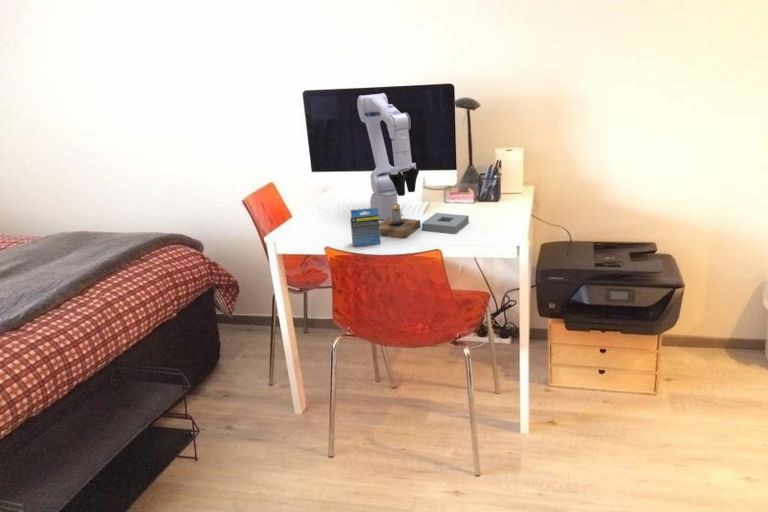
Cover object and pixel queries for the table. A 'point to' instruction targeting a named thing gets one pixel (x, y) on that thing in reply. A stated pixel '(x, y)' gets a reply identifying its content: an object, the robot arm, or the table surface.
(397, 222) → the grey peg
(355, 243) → the label tape box
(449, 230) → the block
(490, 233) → the table surface
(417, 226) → the socket block
